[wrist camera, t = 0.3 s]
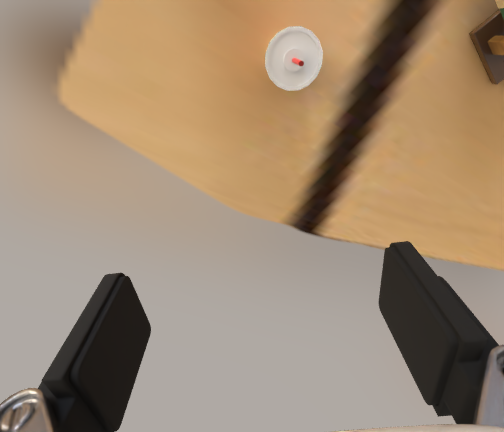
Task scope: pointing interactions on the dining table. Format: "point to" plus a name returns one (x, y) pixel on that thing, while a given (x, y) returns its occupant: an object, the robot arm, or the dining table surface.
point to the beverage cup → (293, 58)
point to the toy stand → (491, 46)
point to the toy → (500, 6)
